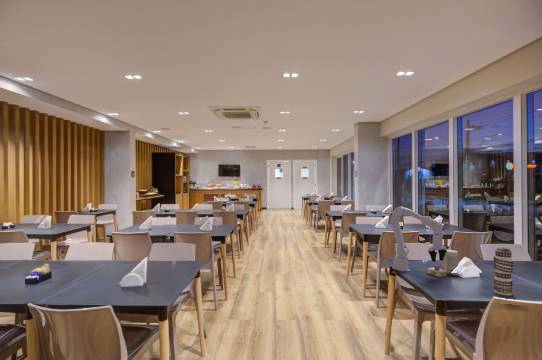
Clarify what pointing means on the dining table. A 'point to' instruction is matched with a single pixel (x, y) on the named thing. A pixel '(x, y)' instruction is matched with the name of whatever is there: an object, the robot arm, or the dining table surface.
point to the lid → (436, 269)
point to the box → (437, 273)
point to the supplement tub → (450, 261)
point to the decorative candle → (503, 271)
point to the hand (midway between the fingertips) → (437, 261)
